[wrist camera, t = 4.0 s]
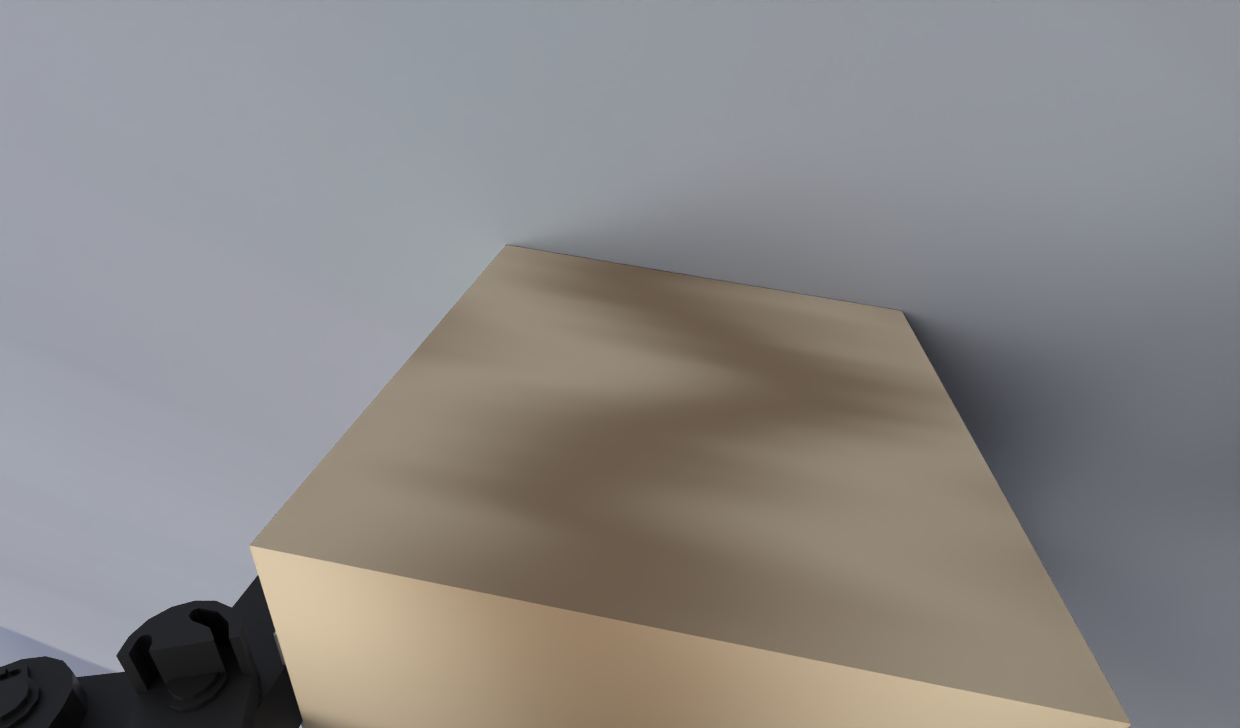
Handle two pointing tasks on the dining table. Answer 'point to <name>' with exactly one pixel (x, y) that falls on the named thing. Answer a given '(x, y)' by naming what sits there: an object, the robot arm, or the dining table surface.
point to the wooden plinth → (666, 526)
